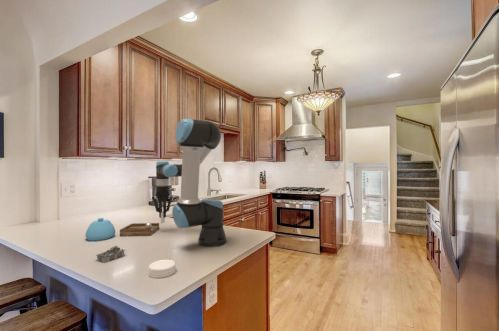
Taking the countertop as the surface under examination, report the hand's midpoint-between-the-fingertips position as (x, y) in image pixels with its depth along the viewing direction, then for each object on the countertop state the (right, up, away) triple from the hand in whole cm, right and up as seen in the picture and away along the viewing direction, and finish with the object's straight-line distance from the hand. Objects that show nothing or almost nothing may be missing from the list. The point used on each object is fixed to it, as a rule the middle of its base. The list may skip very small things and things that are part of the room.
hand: (162, 222), depth 155 cm
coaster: (+21, -6, -60) cm, 64 cm away
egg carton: (-8, -6, -44) cm, 45 cm away
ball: (-9, -4, -1) cm, 9 cm away
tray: (-14, -6, -1) cm, 15 cm away
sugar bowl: (-32, -7, -11) cm, 35 cm away
